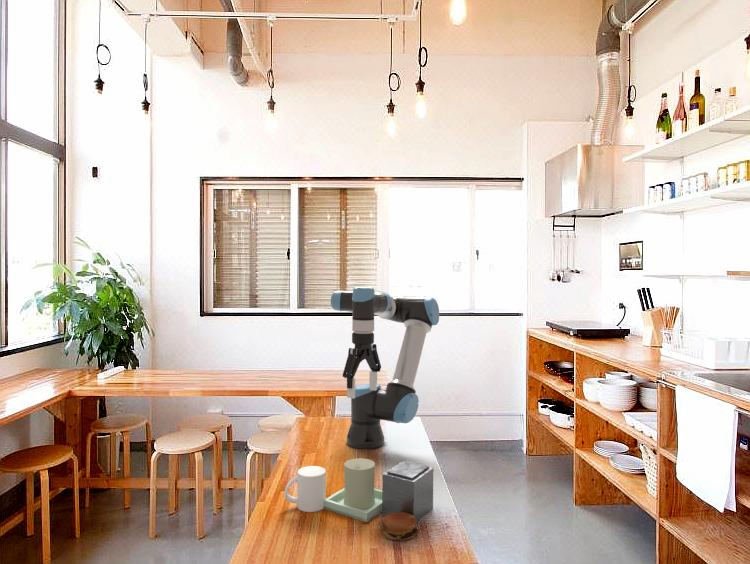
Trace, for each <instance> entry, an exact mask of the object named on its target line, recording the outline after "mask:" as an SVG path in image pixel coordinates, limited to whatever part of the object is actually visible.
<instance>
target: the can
mask: <svg viewBox="0 0 750 564" xmlns="http://www.w3.org/2000/svg"><path fill="white" fill-rule="evenodd" d="M343 466H344V470H343V471H344V473H343V474H344V478H343V479H344V482H343V483H344V486H343V488H344V505H347V506H351V507H354V508H357V509H360V510H363V509H368V508H370V507H372V506H373V505H374V504H375V496H374V488H375V480H376V479H375V477H376V475H375V474H376V473H375V472H376V463H375V461H374V460H371V459H369V458H362V457H361V458H360V457H359V458H352V459H347V460H346V461H345V462H344V463H343Z"/></svg>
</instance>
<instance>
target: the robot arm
mask: <svg viewBox="0 0 750 564" xmlns="http://www.w3.org/2000/svg"><path fill="white" fill-rule="evenodd" d="M330 306H331V309H333V310H334V311H339V312H348V313H349V312H352V317H351V318H352V319H351V321H352V324H351V325H352V327H351V329H352V333H351V342H352V344H354V348H352V347H349V348H348V354H347V358H346V361H345V366H344V369H343V373H342V377H343V378H344V379H346V388H347V389H346V398H348V399H350V400H351V401H350V403H351V405H350V406H351V407H350V411H351V413H350V415H351V416H350V419H351V421H350V426H349V429H348V431H347V435H346V445H348V446H349V447H352V448H355V449H361V450H362V449H363V450H364V449H365V450H366V449H367V450H368V449H376V448H381V447H382V446H384V444H385V436H384V432H383V431H384V430H383V429H382V425H381V421H387V422H393V423H396V424H409V423H411V421H413V419H415V417H416V414H417V413H418V410H419V402H420V401H419V396H418V395H417V394H416V391H417V390H416V389H415V387H414V384H415V381H416V380H415V379H416V376H417V373H418V372H417V371H418V368H419V366H420V365H419V364H420V360H421V356H422V353H423V347H424V345H425V339H426V337H427V334H428V333H430V332H431V331H432V327H433V326H436V325H438V323H439V321H440V307H439V303H438V301H437V300H436V298H434V297H429V296H406V295H401V296H399V295H397V296H391V295H390V294H389V293H387V292H386V291H375V289H374V287H372V286H355V287H354V288H353V289H352V290H351V291H350V290H335V291H334V292H333V293H332V294H331V296H330ZM375 316H378V317H379V318H380V319H383V320H387V321H388V320H389V321H391V322H396V323H401V324H403V325H404V327H405V332H404V337H403V339H402V344H401V347H400V350H399V354H398V358H397V361H396V365H395V370H394V374H393V376H392V380H391V381H390V382H388V383H387V385H386V388H385V389H383V388H382V387H381V386H382V385H381V384H379V383H378V373H379V372H381V369H382V365H381V361H380V360H381V359H380V357H379V354H378V350H377V348H378V347H377V344H375V333H374V332H375ZM364 360H365V361H366V363H367V364H368V367H369V368H370V371H369V382H368V383H365V384H364V383H363V384H360V385H356V378H355V376H356V373H357V371H358V369H359V366H360V363H362V362H363V361H364Z"/></svg>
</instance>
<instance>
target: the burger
mask: <svg viewBox="0 0 750 564" xmlns="http://www.w3.org/2000/svg"><path fill="white" fill-rule="evenodd" d="M380 523H381V527H380V533H381V535H382V536H383V537H384V538H385V539H387V540H392V541H393V540H394V541H395V540H396V541H406V540H409V539H412V538H414V537H416V535H418V534H419V527H418V526H417V523H416V518H415V517H414V516H413V515H411V514H408V513H404V512H394V513H390V514H388V515H386V516H385V517H382V519H381V522H380Z"/></svg>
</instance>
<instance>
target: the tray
mask: <svg viewBox="0 0 750 564" xmlns="http://www.w3.org/2000/svg"><path fill="white" fill-rule="evenodd" d="M374 496H375V504H374V505H373V506H372V507H370V508H368V509H363V510H360V509H357V508H354V507H351V506H347V505H344V487H343V488H342V489H340V490H338V491H336V492H335V493H333V494H331V495H330V496H328V497H326V499H325V500H324V508H323V510H327V511H331V512H333V513H336V514H339V515H342V516H345V517H349V518H352V519H355V520H357V521H360V522H364V523H368V522H370V521H371V520H373V519H374V518H375V517H377V516H378V515H379V514H380V513H381V514H382V489H378V488H375V487H374Z"/></svg>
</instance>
